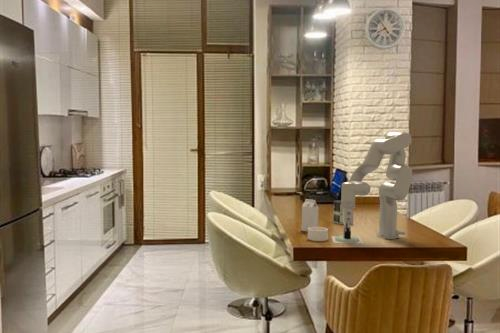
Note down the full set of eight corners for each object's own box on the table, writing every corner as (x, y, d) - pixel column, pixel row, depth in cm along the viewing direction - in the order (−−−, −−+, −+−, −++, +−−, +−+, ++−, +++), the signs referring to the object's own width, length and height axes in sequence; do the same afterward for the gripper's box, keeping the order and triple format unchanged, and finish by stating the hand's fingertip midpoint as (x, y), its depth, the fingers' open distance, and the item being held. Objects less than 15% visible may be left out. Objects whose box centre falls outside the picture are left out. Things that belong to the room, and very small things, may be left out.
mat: (360, 237, 277) (360, 237, 277) (363, 244, 261) (363, 243, 261) (331, 236, 279) (331, 236, 279) (333, 243, 263) (333, 242, 263)
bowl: (327, 237, 277) (327, 227, 276) (328, 242, 266) (328, 231, 265) (307, 237, 278) (307, 226, 277) (307, 241, 267) (308, 230, 267)
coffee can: (331, 223, 321) (332, 201, 320) (334, 220, 330) (335, 199, 329) (347, 224, 317) (348, 202, 316) (349, 221, 327) (350, 200, 326)
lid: (357, 237, 276) (357, 228, 276) (360, 242, 263) (360, 233, 263) (334, 236, 277) (334, 228, 277) (335, 242, 264) (336, 232, 264)
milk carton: (307, 229, 300) (308, 198, 299) (317, 230, 296) (318, 199, 294) (301, 230, 295) (302, 199, 293) (311, 232, 290) (312, 200, 289)
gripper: (356, 207, 260) (355, 241, 261) (353, 202, 277) (352, 234, 278) (342, 206, 261) (341, 240, 262) (339, 202, 277) (338, 234, 279)
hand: (347, 237), depth 270 cm, fingers open, 4 cm apart
